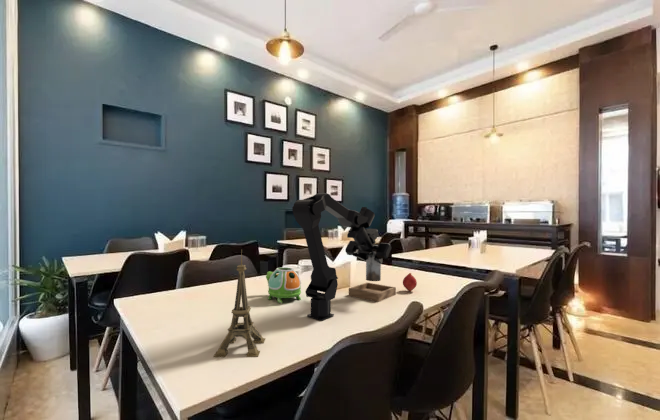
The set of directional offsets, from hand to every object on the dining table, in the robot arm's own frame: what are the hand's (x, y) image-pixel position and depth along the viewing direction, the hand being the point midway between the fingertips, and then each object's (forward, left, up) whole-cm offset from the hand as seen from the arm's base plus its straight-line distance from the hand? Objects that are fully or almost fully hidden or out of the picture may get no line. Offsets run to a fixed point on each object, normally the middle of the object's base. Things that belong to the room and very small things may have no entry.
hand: (374, 262), depth 134 cm
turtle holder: (-28, +25, -14) cm, 40 cm away
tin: (-1, 0, -7) cm, 7 cm away
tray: (-1, 0, -13) cm, 14 cm away
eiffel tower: (-66, -1, -14) cm, 68 cm away
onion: (+15, -9, -14) cm, 22 cm away
